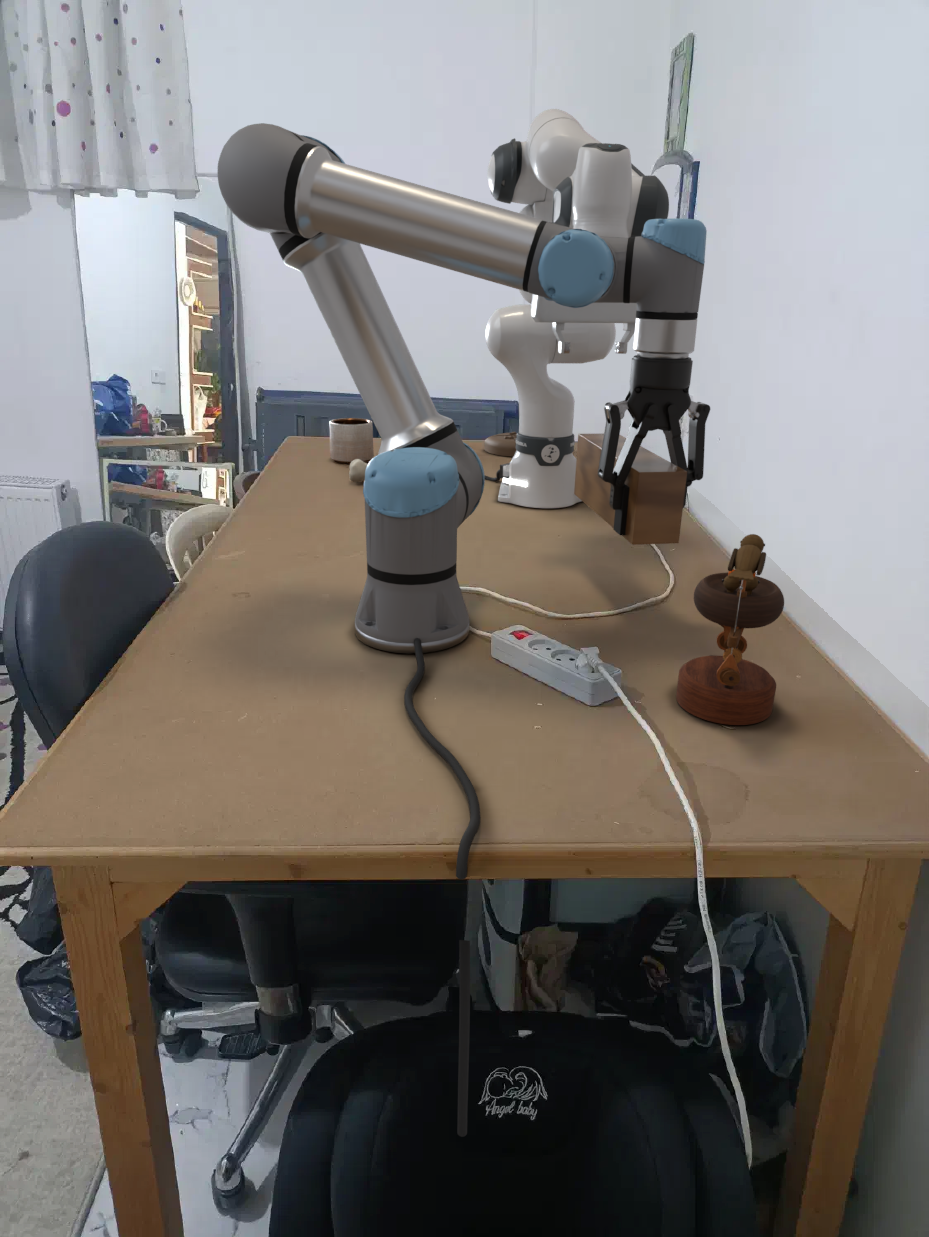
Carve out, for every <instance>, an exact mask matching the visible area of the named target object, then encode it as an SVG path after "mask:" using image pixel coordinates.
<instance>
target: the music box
mask: <svg viewBox="0 0 929 1237" xmlns="http://www.w3.org/2000/svg"><path fill="white" fill-rule="evenodd" d="M741 539H742V540H740V541H739V543H740V544H739V545H740V547H739V548H737V547H735V548H733V550H732V552H731V556H730V559H729V562H728V565H727V571H728V572H717V573H716V572H715V573H712V574H708V575H707V576H705V577H703V578H702V579H701V580H700V581H699V582H698V583H697V584H696V586H695V588H694V592H693V603H694V606H695V608H696V610H697V611H698V613H699V614H700V615H701V616H702V617H703V618H705V619H706V620H708V621H710V622H712V623H715V624H717V625H719V626H720V627H722V628H723V630H722V631H721V632H719V633H718V635H717V637H716V645H717V647H718V649H720V650H722V651H723V653H722V655H702V656H698V657H694V658H693V659H690V660H689V661H687V662H685V663H684V664H682V666H680V668H679V670H678V678H677V685H676V694H675V699H676V702H677V703H678V705H679V706H680V707H681V708H682V709H683V710H684V711H686V712H687V713H689V714H691V715H692V716H694V717H696V718H699V719H701V720H705V721H707V722H712V723H716V724H721V725H729V726H746V725H748V726H749V725H753V724H758V723H760V722H763V721H765V720H767V719H769V717H770V716H771V715H772V713H773V708H774V702H775V697H776V692H777V681H776V680H775V678H774V677H773V676H772V674H770V672H768V670H766V668H764V667H763V666H760V665H759V664H757V663H755V662H752V661H750V660H746V659H743V653H745V652H746V651H747V648H748V641H747V639H746V638H745V637H744V636H743V633H744V630H745V629H758V628H759V629H760V628H763V627H766V626H769V625H771V624H772V623H775V621H777V620H778V618H779V617H780V616H781V615H782V613H783V610H784V608H785V607H784V606H785V597H784V594H783V591H782V590H781V588H780V587H779V586H778V585H777V584H776V583H775V582H773V581H771V580H770V579H767V578H764V577H761V575H762V573H763V571H764V568H765V564H766V560H767V552H766V551H764V549H765V547H766V543H765V542H764V539H763V538H762V537H761V536H760V535H758V534H755V533H750V534H747V535H745V536H744V537H742V538H741Z"/></svg>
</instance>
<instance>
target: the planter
mask: <svg viewBox="0 0 929 1237" xmlns="http://www.w3.org/2000/svg"><path fill="white" fill-rule="evenodd" d="M328 424H329V425H328V426H329V453H330V454H329V455H330V456H329V457H330V459H331V460H332V461H333V462H335V463H341V464H351V462H352V461H353V460H355V459H360V460H362V461H363V462H365V463H367V462H368V463H369V462H370V461H371V460H372V459H373V458H374V457H375V455H374V452H375V451H374V450H375V449H374V430H373V429H374V428H373V420H372V419H369V418H362V417H361V418H360V417H342V418H341V417H340V418H335V419H334V418H333V419H331V420H329V421H328Z"/></svg>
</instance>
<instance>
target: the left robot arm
mask: <svg viewBox="0 0 929 1237" xmlns="http://www.w3.org/2000/svg"><path fill="white" fill-rule="evenodd" d="M217 161H218V163H217V182H218V187H219V190H220V194H221V196H222V199H223V201H224V202H225V205H226V206H227V208H228V209H229V211H230V212H231V213H232V214H233V215H234V216H235V217H236V218H237V219H238V220H239V222H241V223H243V224H244V225H246V226H247V227H249V228H252V229H253V230H255V231H260V232H263V233H269V235H270V237H271V239H272V241H273V243H274V245H275V248H276V250H277V252H278V254H279V256H280V258H281V260H282V262H283V263H284V265H285V266H287V267H289V268H291V269H294V270H297V271H298V272H300V273H301V274H302V276H303V278H304V281H305V283H306V284H307V287H308V289H309V292H310V293H311V295H312V298H313V299H314V302H315V303H316V305H317V307H318V310H319V312H320V314H321V316H322V318H323V320H324V322H325V324H326V326H327V328H328V331H329V333H330V335H331V337H332V338H333V341H334V343H335V345H336V347H337V349H338V351H339V353H340V355H341V358H342V360H343V361H344V363H345V366H346V368H347V370H348V372H349V374H350V376H351V378H352V380H353V383H354V385H355V387H356V389H357V390H358V393H359V395H360V397H361V399H362V401H363V403H364V405H365V407H366V410H367V412H368V413H369V416H370V418H371V421H372V423H373V424H374V426H375V428H376V431H377V432H378V434H379V436H380V439H381V441H380V442H381V443H380V446H379V449H378V452H377V455H374V457H373V459H372V460H370V461H368V463H367V464H368V465H367V467H366V470H365V480H363V489H362V494H363V497H364V520H365V545H366V546H365V550H366V579H365V584H364V586H363V589H362V592H361V596H360V600H359V602H358V606H357V609H356V612H355V618H354V633H355V636H356V638H357V639H358V640H359V641H360V642H362V643H363V644H365V645H367V646H368V647H371V648H374V649H377V650H380V651H384V652H390V653H396V654H397V653H398V654H415V659H416V660H415V661H416V665H417V666H416V672H415V674H414V676H413V678H412V679H411V680H410V682H409V683H408V685H407V687H406V688H405V689H404V690H405V691H404V697H403V699H404V707H405V711H406V713H407V715H408V717H409V719H410V721H411V722H412V724H413V725H414V726H415V728H416V730H417V731H418V732H419V734H420V735H421V737H422V739H424V740H425V742H426V743H427V744H428V745H429V746H430V747H431V748H432V749H433V750H434V751H435V752H436V753H437V754H438V755H439V756H440V757H441V758H442V759H443V760H444V761H445V762H446V763H447V765H448V766H449V767H450V768H451V769H452V771H453V773H454V774H455V776H456V777H457V779H458V781H459V782H460V784H461V786H462V787H463V788H462V789H463V791H464V793H465V796H466V799H467V802H468V806H469V807H468V808H469V822H468V824H467V826H466V829H465V831H464V832H463V834H462V837H461V839H460V842H459V845H458V850H457V857H456V868H455V877H456V878H457V879H458V880H466V878H467V877H468V862H469V854H470V850H471V846H472V844H473V841H474V839H475V837H476V835H477V833H478V831H479V828H480V825H481V806H480V800H479V797H478V794H477V792H476V789H475V787H474V785H473V783H472V781H471V779H470V777H469V776H468V774H467V773H466V771H465V770H464V768H463V766H462V765H461V763H460V762H459V760H457V758H456V757H455V755H454V754H452V752H451V751H450V750H449V749H448V748H447V747H446V746H445V745H443V744H442V743H441V741H439V740H438V739H437V738H436V737H435V735H433V734H432V732H430V730H429V729H428V728H427V726H426V724H425V723H424V721H423V720H422V719H421V717H420V716H419V714H418V713H417V710H416V708H415V705H414V701H413V695H414V692H415V690H416V688H417V687H418V685H419V684H420V683H421V681H422V680H423V677H424V674H425V671H426V670H425V668H426V660H425V657H424V654H425V653H433V652H439V651H443V650H446V649H449V648H452V647H455V646H457V645H458V644H460V643H462V642H463V641H464V640H466V639H467V637H468V636H469V634H470V616H469V612H468V608H467V606H466V601H465V599H464V596H463V593H462V589H461V586H460V583H459V581H458V577H457V561H458V560H457V559H458V558H457V557H458V556H457V554H458V529H459V527H460V526H461V525H462V524H463V523H464V522H465V521H466V520H467V519H468V518H469V517H471V515H473V513H474V512H475V511H476V510H477V508H478V506H479V504H480V501H481V499H482V496H483V494H484V490H485V484H486V479H485V476H486V475H485V469H484V466H483V463H482V461H481V459H480V456H479V455H478V454H477V452H476V451H475V450H474V449H473V448H472V447H471V445H469V444H467V443H465V442H464V441H463V439H462V437H461V435H460V433H459V430H458V428H457V426H456V424H455V422H454V420H453V419H452V418H450V417H448V416H445V415H443V414H440V413H439V412H438V410H437V408H436V406H435V404H434V402H433V400H432V398H431V396H430V393H429V391H428V388H427V387H426V385H425V382H424V380H423V378H422V376H421V373H420V371H419V369H418V367H417V365H416V362H415V361H414V357H413V356H412V355H411V352H410V350H409V348H408V345H407V343H406V341H405V339H404V337H403V334H402V332H401V329H400V328H399V326H398V323H397V321H396V319H395V317H394V315H393V313H392V310H391V308H390V307H389V304H388V302H387V300H386V297H385V295H384V293H383V291H382V289H381V287H380V284H379V282H378V280H377V277H376V275H375V273H374V271H373V269H372V267H371V265H370V262H369V261H368V258H367V256H366V254H365V251H364V249H363V247H362V245H364V246H367V247H370V248H374V249H377V250H381V251H384V252H386V253H392V254H395V255H398V256H401V257H405V258H409V259H412V260H416V261H419V262H423V263H426V264H429V265H432V266H437V267H439V268H440V267H441V268H443V269H447V270H450V271H453V272H457V273H459V274H464V275H467V276H471V277H474V278H477V279H482V280H485V281H488V282H492V283H495V284H499V285H502V286H505V287H508V288H513V289H515V290H518V291H519V290H522V291H526V292H529V293H531V294H534V295H538V296H541V297H544V298H545V299H546V300H548V301H555V302H556V303H558V304H560V305H563V306H567V307H572V308H580V307H584V306H587V305H589V304H591V303H636V304H637V311H636V321H635V332H634V334H633V345H632V350H633V351H635V352H636V353H637V354H635V355H634V356H633V357H632V358H631V366H630V377H629V390H628V392H627V395H626V396H625V398H624V400H621V401H617V402H610V401H609V402H606V403H605V404H604V405H603V411H604V416H605V426H604V431H603V432H604V433H603V434H604V438H603V444H602V450H601V456H600V462H599V468H598V477H599V478H601V479H602V480H603V481H605V482H608V483H610V485H611V488H610V500H609V504H610V507H611V508H612V509H613V510H615V517H614V528H612V530H613V531H614V532H615V533H616V534H618V535H619V536H622V535H625V532H626V521H627V510H628V500H629V489H630V487H628V486H627V485H625V484H624V483H625V481H626V479H627V476H628V474H629V471H630V469H631V467H632V464H633V462H634V460H635V457H636V455H637V452H638V450H639V448H640V446H642V443H643V440H644V439H645V438H646V437H647V435H648V432H654V431H657V430H659V431H662V433H663V434H664V436H665V441H666V446H667V450H668V455H669V460H670V462H671V463H673V464H674V465H676V466H678V467H680V468H682V469H684V470H685V471H687V478H686V486H685V495H684V503H683V509H684V508H685V506H686V503H687V495H688V488H689V487H691V486H692V484H693V482H695V481H701V480H702V479H703V478H704V468H705V467H704V465H705V444H706V443H705V442H706V423H707V420H708V417H709V414H710V413H711V412H710V411H711V406H710V405H709V404H707V403H705V402H701V401H694V400H692V399H691V396H690V391H689V390H690V387H691V381H692V371H693V363H694V360H692V357H689V356H690V354H693V353H694V352H695V346H696V338H697V336H696V335H697V328H698V317H699V309H700V300H701V293H702V285H703V277H704V272H705V271H704V270H705V262H706V261H705V259H706V245H707V231H708V230H707V227H706V225H705V224H704V222H702V220H700V219H693V218H667V219H651V220H648V221H646V223H645V224H644V229H643V232H642V236H639V237H629V238H619V237H599V236H598V235H597V234H595V233H592V232H589V231H586V230H582V229H573V228H570V227H566V226H563V225H559V224H555V223H551V222H547V221H543V220H542V219H538V218H534V217H531V216H527V215H524V214H520V212H517V211H513V210H510V209H506V208H503V207H499V206H495V205H492V204H489V203H484V202H481V201H478V200H474V199H470V198H467V197H464V196H460V195H457V194H453V193H449V192H446V191H442V190H439V189H435V188H432V187H428V186H425V185H421V184H418V183H414V182H411V181H407V180H403V179H400V178H396V177H394V176H390V175H386V174H383V173H379V172H375V171H372V170H368V169H364V168H361V167H358V166H354V165H351V164H347V163H345V161H344V159H343V158H342V157H341V156H340V155H339V154H338V153H337V152H336V151H335V150H334V149H333V148H331V147H330V146H329V145H328V144H326V143H325V142H323V141H321V140H320V139H317V138H314V137H312V136H309V135H303V134H298V133H296V132H294V131H291V130H289V129H286V128H284V127H282V126H279V125H276V124H272V123H264V122H263V123H260V122H259V123H253V124H248V125H246V126H244V127H241V128H240V129H238V130H237V131H235V132H234V133H233V134H231V136H230V137H229V138H228V139H227V141H226V143H224V144H223V147H222V149H221V151H220V155H219V158H218V160H217ZM626 411H628V414H629V415H630V416H631V418H632V420H631V422H630V425H629V427H628V432H627V433H628V434H627V436H626V437H625V438H626V441H625V443H624V445H623V448H622V450H621V453H620V455H619V457H618V460H617V462H616V465H615V467H614V463H615V457H616V452H617V446H618V440H619V435H621V428H622V420H623V419H624V418H625V413H626ZM686 412H687V416H688V417H689V420H688V441H687V442H688V444H687V459H686V453H685V450H684V449H685V448H684V444H683V441H682V429H681V424H680V420H681V419H682V417H683V416H684V415H685V413H686ZM458 941H459V942H458V945H459V946H458V948H459V950H458V951H459V952H458V953H459V955H458V958H459V959H458V960H459V1011H458V1012H459V1016H458V1017H459V1019H458V1021H459V1022H458V1025H459V1026H458V1070H457V1071H458V1072H457V1073H458V1074H457V1077H458V1078H457V1079H458V1080H457V1131H456V1132H457V1133H456V1134H457V1135H458V1136H459V1137H461V1138H463V1137H464V1138H465V1137H466V1136H467V1135H468V1109H469V1108H468V1105H469V1104H468V1103H469V1067H470V1066H469V1064H470V1027H471V1026H470V1024H471V940H467V939H466V940H465V939H458Z"/></svg>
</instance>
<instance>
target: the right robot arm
mask: <svg viewBox="0 0 929 1237" xmlns="http://www.w3.org/2000/svg"><path fill="white" fill-rule="evenodd" d="M490 156H491V157H490V159H489V162H488V166H487V170H486V171H487V172H486V176H487V177H486V178H487V179H486V180H487V184H488V187H489V191H490V195H491V196H492V197H493V199H494V200H495V201H497V202H501V203H503V204H509V205H510V204H511V203H515V204H520V205H525V206H523V207H522V209H521V210H520V211H519V213H520V214H524V215H527V216H531V217H534V218H538V219H542V220H543V221H547V222H551V223H555V224H559V225H563V226H566V227H570V228H573V229H582V230H586V231H589V232H592V233H595V234H597V235H598V236H599V237H619V238H629V237H639V236H642V232H643V229H644V224H645V223H646V221H648V220H651V219H669V213H670V212H669V211H670V199H669V198H670V197H669V194H668V191H667V188H666V187H665V185H664V184H663V182H662V181H661V180H660V179H659V178H658V176H657V175H653V174H652V175H645V174H644V173H643V172H642V171H641V170H640V169H639V168H638V167H636V166H635V165H634V164H633V163H632V156H631V149H630V148H628V147H627V146H626V145H624V144H621V143H609V142H608V143H606V142H605V143H604V142H603V143H602V142H601V141H600V140H598V139H596V138H595V137H594V136H592V135H591V134H590V133H589V132H588V131H587V130H585V128H584V127H583V126H582V124H581V123H580V122H579V121H578V120H577V118H575V117H574V116H573V115H571V114H570V113H568V112H566V111H564V110H562V109H560V108H549V109H545V110H544V111H542V112H540V113H538V114H537V115H536V116H535V117H534V118H533V120H532V121H531V123H530V125H529V128H528V131H527V136H526V141H520V140H516V138H512V139H510V142H509V141H508V142H505V143H504V144H501V145H499V146H497V148H496V149H494V150H493V152H492V153H491V155H490ZM518 291H519V293H520V295H521V297H522V298H523V299H524V300H525V301H526V302H527V303H529V304H514V305H509V306H504V307H500V308H497V309H495V310H494V311H493V312H492V314H491V315H490V317H489V319H487V320H488V321H487V322H486V327H485V333H484V334H485V335H484V336H485V337H484V338H485V342H486V345H487V346H486V347H487V349H488V351H489V352H490V354H491V355H492V356H493V358H494V359H496V360H497V361H498V362H499V363H500V364H501V365H502V366H503V367H504V368H505V369H506V371H508V373H509V375H510V376H511V378H512V380H513V382H514V384H515V387H516V392H517V397H518V431H517V432H516V433H517V437H516V447H515V448H516V453H515V455H514V456H512V458H511V461H509V462H507V463H502V464H500V465H499V469H498V470H497V471H496V473H495V476H496V477H493V476H492V477H491V476H488V475H485V481H490V482H495V483H496V482H499V481H500V480H501V479H502V481H501V482H500V485H499V486H500V487H499V491H498V496H497V502H500V503H506V504H513V505H516V506H521V507H525V508H535V509H560V508H566V507H571V506H573V505H575V504H577V503H581V502H583V501H582V500H581V499H579V498H578V497H577V496H576V495H575V494H574V488H575V474H576V459H577V457H576V456H574V454H573V453H574V451H575V443H576V440H575V434H574V432H573V431H574V416H575V397H574V394H573V392H572V391H571V390H570V389H569V387H567V386H566V385H564V384H562V383H561V382H559V381H557V380H555V379H553V378H551V377H550V376H549V373H548V365H550V364H586V363H591V362H597V361H601V360H604V359H605V358H606V357H607V356H608V355H609V354H610V352H611V351H612V349H613V347H614V353H615V354H621V355H622V354H623V355H626V354H627V353H628V344H629V342H630V340H631V339H632V337H634V332H635V321H636V311H637V304H636V303H591V304H589V305H587V306H584V307H580V308H572V307H567V306H563V305H560V304H558V303H556V302H555V301H548V300H546V299H545V298H544V297H541V296H538V295H534V294H531V293H529V292H526V291H522V290H519V289H518ZM616 324H622V331H625V332H624V334H623V335H622V337H621V339H620V341H616V338H617V337H616V336H617V328H616Z"/></svg>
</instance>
